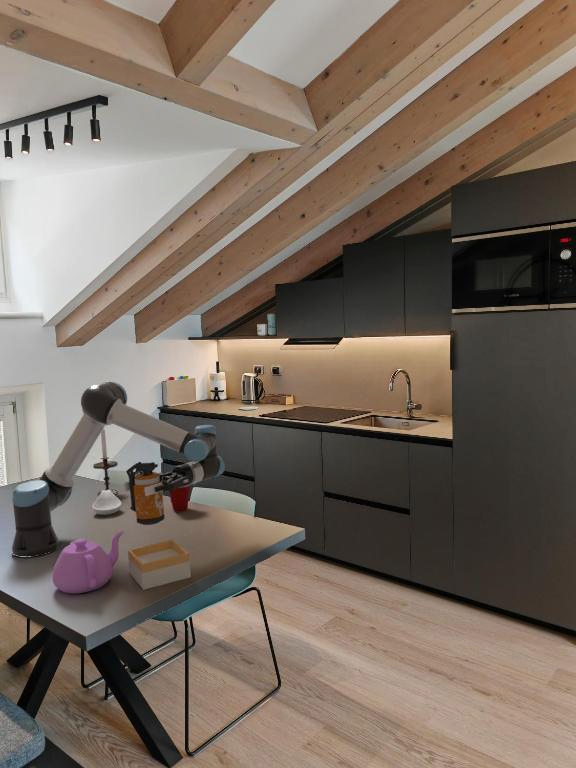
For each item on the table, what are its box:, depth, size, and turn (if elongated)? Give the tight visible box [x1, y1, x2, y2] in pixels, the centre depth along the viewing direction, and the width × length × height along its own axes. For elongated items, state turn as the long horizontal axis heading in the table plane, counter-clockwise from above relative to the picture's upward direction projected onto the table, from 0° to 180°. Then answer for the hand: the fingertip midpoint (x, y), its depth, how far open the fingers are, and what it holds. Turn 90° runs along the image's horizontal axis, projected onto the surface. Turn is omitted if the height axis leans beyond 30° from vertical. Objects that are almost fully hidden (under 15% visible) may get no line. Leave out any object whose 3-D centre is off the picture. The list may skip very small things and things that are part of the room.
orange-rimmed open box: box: [127, 539, 192, 591], centre depth 184 cm, size 15×15×8 cm
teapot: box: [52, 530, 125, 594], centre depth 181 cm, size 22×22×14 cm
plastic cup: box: [167, 484, 192, 513], centre depth 251 cm, size 11×11×12 cm
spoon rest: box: [91, 489, 122, 516], centre depth 257 cm, size 24×12×7 cm, turn 18°
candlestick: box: [92, 427, 119, 496], centre depth 280 cm, size 11×11×35 cm
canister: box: [125, 461, 165, 526], centre depth 198 cm, size 9×11×20 cm
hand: (134, 489), depth 194 cm, fingers closed on canister, 10 cm apart
